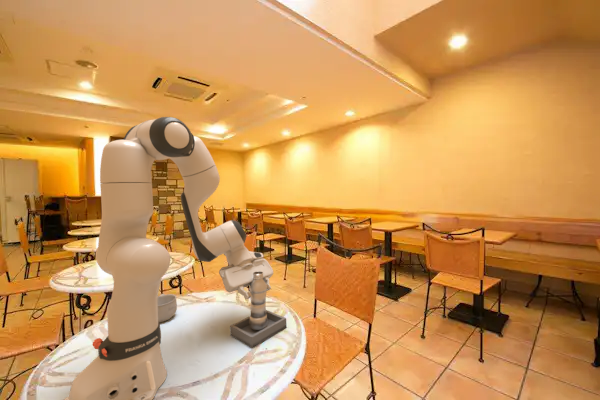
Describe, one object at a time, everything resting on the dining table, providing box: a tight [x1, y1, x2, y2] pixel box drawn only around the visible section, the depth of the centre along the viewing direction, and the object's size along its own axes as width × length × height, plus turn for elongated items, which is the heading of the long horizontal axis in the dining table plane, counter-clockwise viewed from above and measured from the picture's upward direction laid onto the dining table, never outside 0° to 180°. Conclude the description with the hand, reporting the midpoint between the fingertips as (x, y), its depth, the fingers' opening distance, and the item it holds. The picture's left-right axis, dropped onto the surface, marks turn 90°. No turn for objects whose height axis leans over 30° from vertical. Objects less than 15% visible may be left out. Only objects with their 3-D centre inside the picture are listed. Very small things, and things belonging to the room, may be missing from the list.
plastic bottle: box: [248, 271, 268, 330], centre depth 92 cm, size 6×7×20 cm
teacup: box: [158, 293, 178, 323], centre depth 104 cm, size 14×11×8 cm
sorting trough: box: [229, 309, 287, 349], centre depth 92 cm, size 16×12×4 cm
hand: (259, 293), depth 91 cm, fingers open, 8 cm apart
